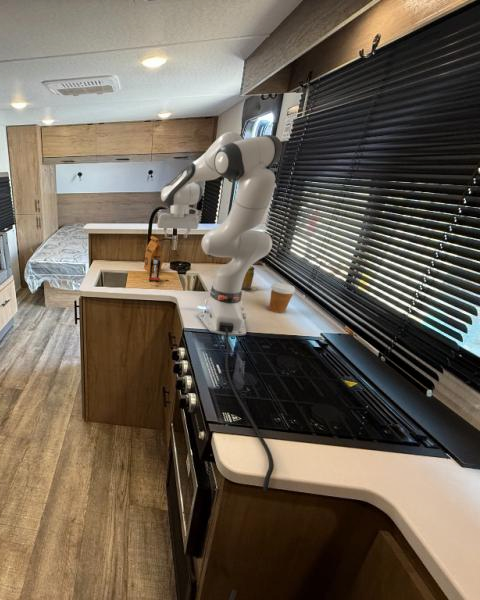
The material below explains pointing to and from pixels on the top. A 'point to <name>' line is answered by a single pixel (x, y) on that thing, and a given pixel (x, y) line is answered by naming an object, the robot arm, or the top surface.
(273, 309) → the disposable coffee cup
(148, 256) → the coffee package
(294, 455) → the top surface
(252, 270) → the condiment
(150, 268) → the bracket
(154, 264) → the lever
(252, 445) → the top surface
